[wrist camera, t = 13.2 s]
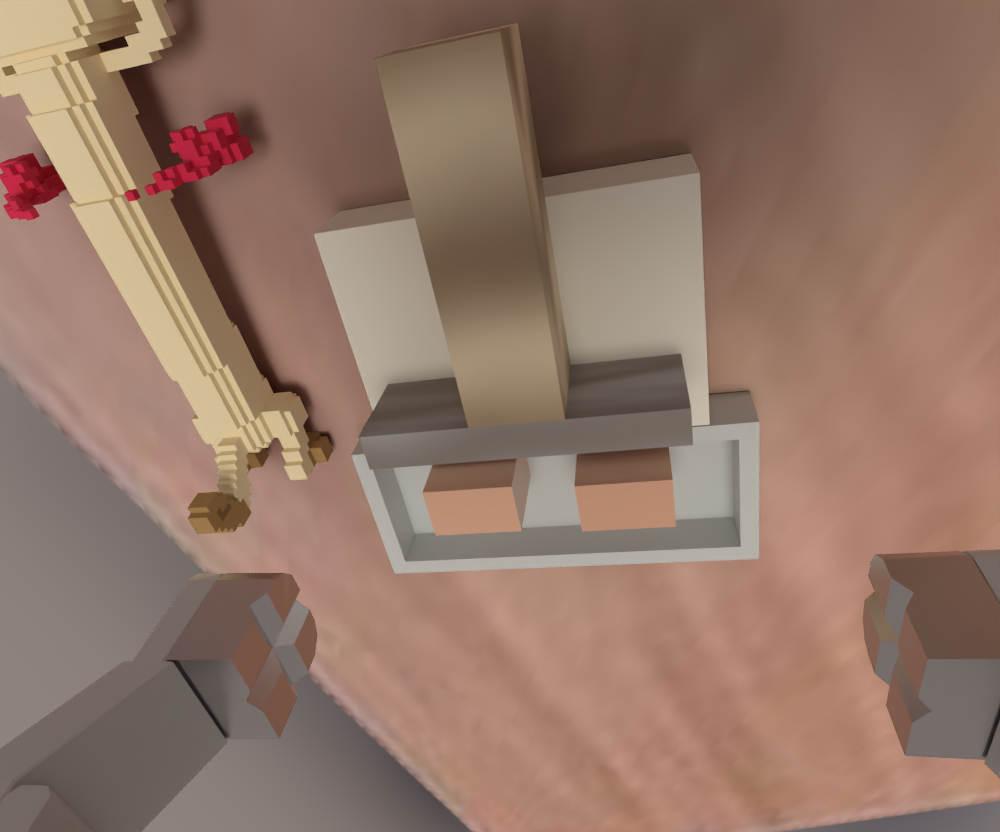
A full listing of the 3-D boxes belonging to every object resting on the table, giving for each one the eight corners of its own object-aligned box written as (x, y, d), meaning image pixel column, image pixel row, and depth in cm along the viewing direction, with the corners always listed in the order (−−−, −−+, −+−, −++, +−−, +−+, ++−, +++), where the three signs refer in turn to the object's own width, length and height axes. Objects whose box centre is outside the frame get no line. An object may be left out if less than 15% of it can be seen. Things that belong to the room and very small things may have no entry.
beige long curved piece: (381, 424, 36) (139, -211, 21) (327, 552, 29) (-86, -261, 14) (212, 439, 38) (-111, -127, 23) (124, 562, 31) (-411, -136, 16)
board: (339, 211, 28) (313, 234, 26) (690, 153, 25) (699, 172, 23) (403, 415, 33) (386, 451, 31) (701, 387, 30) (709, 424, 28)
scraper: (289, 71, 23) (234, 88, 19) (658, -8, 20) (668, -6, 17) (397, 414, 30) (369, 469, 26) (683, 387, 27) (693, 445, 24)
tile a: (422, 492, 30) (435, 535, 31) (511, 486, 29) (521, 531, 30) (441, 441, 33) (452, 481, 35) (521, 434, 32) (530, 476, 34)
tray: (367, 425, 34) (351, 455, 32) (749, 390, 30) (759, 421, 28) (406, 540, 38) (394, 573, 36) (749, 522, 34) (758, 558, 32)
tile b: (574, 486, 29) (582, 531, 30) (672, 479, 28) (676, 526, 29) (578, 433, 32) (584, 475, 33) (666, 425, 31) (669, 469, 32)
